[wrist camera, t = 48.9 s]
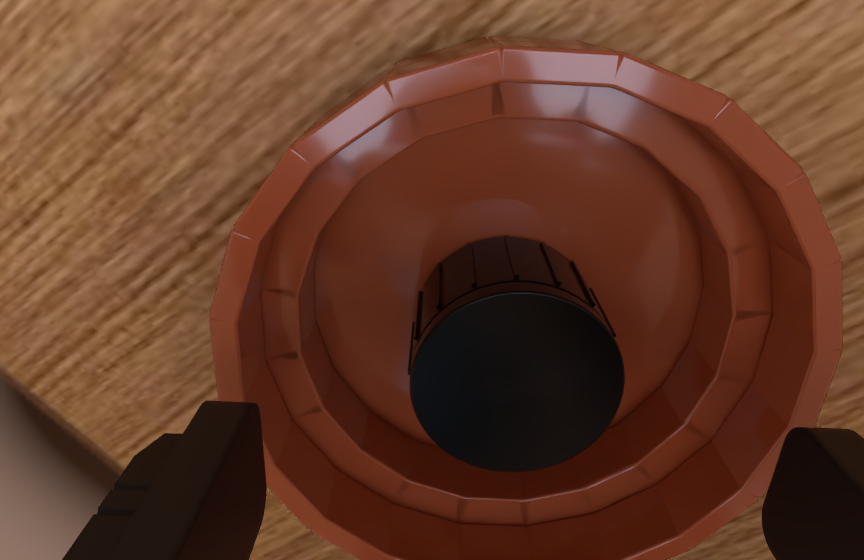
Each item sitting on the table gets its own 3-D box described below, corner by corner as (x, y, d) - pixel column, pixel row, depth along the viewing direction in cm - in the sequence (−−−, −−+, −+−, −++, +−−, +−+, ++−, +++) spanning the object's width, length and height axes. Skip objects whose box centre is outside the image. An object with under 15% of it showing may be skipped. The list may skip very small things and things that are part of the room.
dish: (689, 489, 16) (749, 606, 13) (277, 469, 16) (238, 582, 13) (813, 51, 12) (949, 68, 9) (246, 22, 12) (174, 28, 9)
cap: (602, 376, 14) (637, 456, 12) (435, 405, 15) (434, 489, 12) (581, 216, 13) (615, 269, 10) (395, 254, 13) (383, 314, 11)
